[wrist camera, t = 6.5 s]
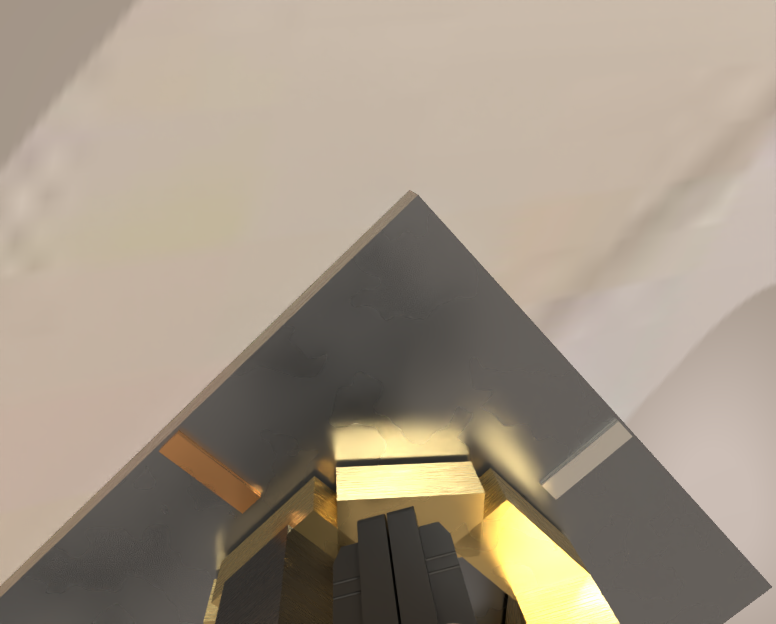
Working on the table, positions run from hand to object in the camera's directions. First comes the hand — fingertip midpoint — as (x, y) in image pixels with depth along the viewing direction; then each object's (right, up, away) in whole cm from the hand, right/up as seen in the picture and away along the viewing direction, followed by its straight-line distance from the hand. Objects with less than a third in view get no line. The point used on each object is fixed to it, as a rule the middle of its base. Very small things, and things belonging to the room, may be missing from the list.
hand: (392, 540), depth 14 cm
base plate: (0, -4, +6) cm, 8 cm away
